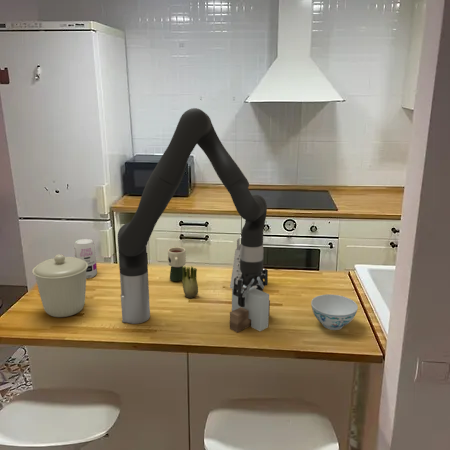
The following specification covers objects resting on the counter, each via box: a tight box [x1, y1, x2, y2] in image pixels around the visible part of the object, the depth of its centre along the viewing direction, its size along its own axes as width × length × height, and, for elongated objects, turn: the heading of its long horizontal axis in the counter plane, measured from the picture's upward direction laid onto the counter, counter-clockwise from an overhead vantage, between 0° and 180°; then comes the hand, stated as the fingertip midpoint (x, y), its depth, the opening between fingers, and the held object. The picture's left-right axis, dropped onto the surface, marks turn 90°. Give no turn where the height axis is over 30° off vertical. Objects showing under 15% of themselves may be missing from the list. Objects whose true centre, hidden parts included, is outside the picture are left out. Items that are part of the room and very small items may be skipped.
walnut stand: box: [229, 299, 271, 333], centre depth 157 cm, size 16×4×6 cm, turn 134°
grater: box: [229, 236, 257, 289], centre depth 184 cm, size 10×10×20 cm
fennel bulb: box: [181, 265, 199, 299], centre depth 175 cm, size 6×5×12 cm
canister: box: [31, 253, 88, 318], centre depth 162 cm, size 18×18×21 cm
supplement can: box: [73, 238, 98, 279], centre depth 193 cm, size 8×8×15 cm
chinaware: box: [310, 293, 359, 331], centre depth 155 cm, size 15×15×8 cm
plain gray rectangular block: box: [231, 285, 270, 332], centre depth 156 cm, size 4×13×12 cm, turn 45°
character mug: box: [167, 246, 187, 282], centre depth 189 cm, size 11×7×13 cm, turn 3°
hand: (250, 302), depth 156 cm, fingers open, 8 cm apart
